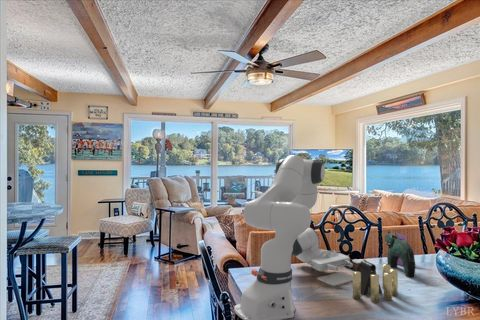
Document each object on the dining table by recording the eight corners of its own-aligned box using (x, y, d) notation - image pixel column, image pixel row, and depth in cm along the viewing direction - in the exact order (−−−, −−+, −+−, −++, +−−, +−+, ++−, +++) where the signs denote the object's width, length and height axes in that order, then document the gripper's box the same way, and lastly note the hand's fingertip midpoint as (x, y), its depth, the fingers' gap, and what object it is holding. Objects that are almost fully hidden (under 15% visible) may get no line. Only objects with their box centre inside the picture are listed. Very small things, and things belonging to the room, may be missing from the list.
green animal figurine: (383, 264, 167) (383, 226, 167) (395, 264, 167) (395, 226, 167) (406, 278, 147) (406, 235, 147) (419, 278, 147) (419, 234, 148)
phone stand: (363, 295, 127) (363, 265, 127) (354, 289, 133) (354, 261, 133) (382, 293, 130) (382, 263, 130) (372, 287, 136) (372, 259, 136)
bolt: (344, 267, 167) (363, 276, 153) (337, 263, 166) (355, 272, 151) (349, 257, 168) (368, 265, 154) (342, 253, 167) (360, 261, 152)
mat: (333, 286, 137) (333, 284, 137) (316, 278, 145) (316, 277, 145) (358, 279, 145) (358, 278, 145) (340, 272, 153) (340, 271, 154)
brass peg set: (373, 307, 117) (373, 280, 117) (351, 297, 125) (351, 272, 125) (407, 294, 128) (407, 269, 128) (385, 286, 137) (385, 263, 137)
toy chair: (393, 264, 167) (393, 236, 167) (389, 259, 175) (389, 232, 176) (410, 265, 165) (410, 237, 165) (405, 260, 174) (405, 233, 174)
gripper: (305, 255, 148) (328, 263, 136) (336, 249, 159) (359, 256, 147) (305, 269, 148) (328, 278, 136) (335, 262, 159) (359, 270, 147)
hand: (344, 267), depth 142 cm, fingers open, 8 cm apart
